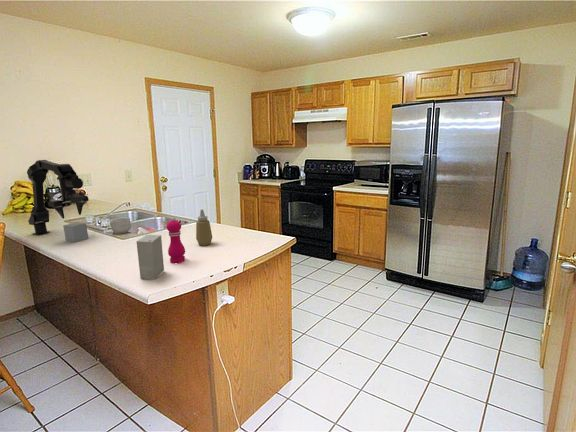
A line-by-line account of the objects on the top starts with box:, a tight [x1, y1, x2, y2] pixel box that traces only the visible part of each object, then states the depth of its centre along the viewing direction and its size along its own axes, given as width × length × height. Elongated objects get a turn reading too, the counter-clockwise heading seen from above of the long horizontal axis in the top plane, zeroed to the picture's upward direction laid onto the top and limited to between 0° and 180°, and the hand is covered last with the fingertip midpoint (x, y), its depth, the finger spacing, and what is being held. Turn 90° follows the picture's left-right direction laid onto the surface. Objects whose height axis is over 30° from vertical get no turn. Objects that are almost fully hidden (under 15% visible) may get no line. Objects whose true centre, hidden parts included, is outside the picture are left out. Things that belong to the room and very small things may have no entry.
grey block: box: [62, 221, 89, 243], centre depth 186 cm, size 8×8×9 cm
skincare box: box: [136, 234, 165, 280], centre depth 133 cm, size 8×7×16 cm
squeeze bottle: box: [195, 209, 213, 247], centre depth 171 cm, size 8×8×18 cm
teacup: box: [109, 216, 132, 235], centre depth 200 cm, size 14×11×8 cm
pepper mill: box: [166, 216, 186, 265], centre depth 148 cm, size 7×7×20 cm
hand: (71, 216), depth 185 cm, fingers open, 9 cm apart
